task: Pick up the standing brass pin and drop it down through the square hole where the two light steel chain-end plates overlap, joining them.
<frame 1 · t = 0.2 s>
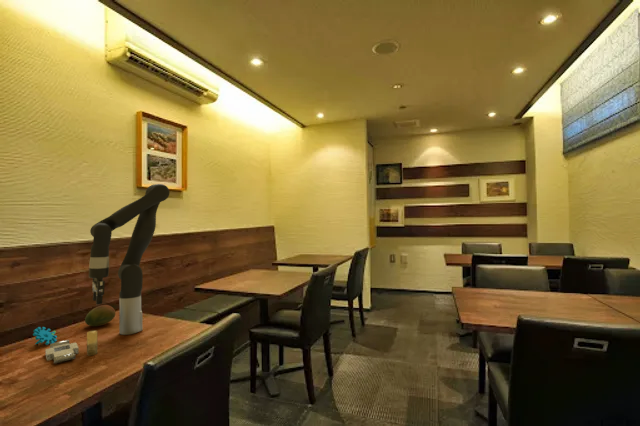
hand: (97, 302, 147), 17 cm above the table, tool pointing down, fingers open, 8 cm apart
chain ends: (62, 354, 132), on the table
fruit: (100, 325, 167), on the table
pin: (92, 353, 132), on the table
gear: (46, 344, 143), on the table
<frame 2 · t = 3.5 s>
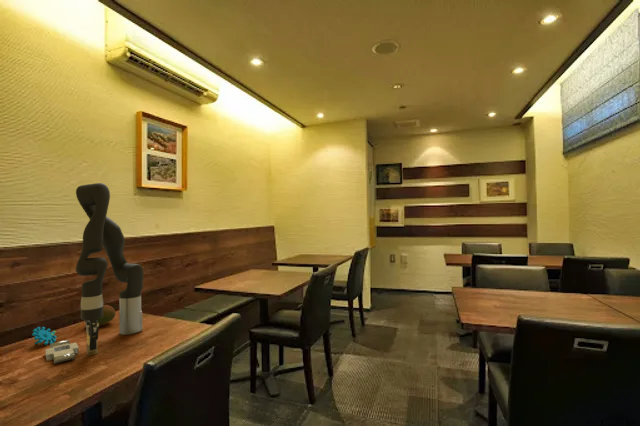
hand: (92, 348, 132), 2 cm above the table, tool pointing down, fingers closed on pin, 3 cm apart
pin: (92, 353, 132), on the table, touching gripper
everything else where it was.
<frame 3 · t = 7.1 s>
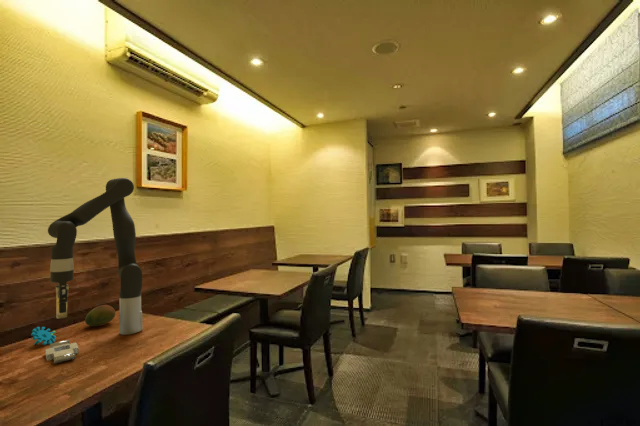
hand: (62, 311, 132), 18 cm above the table, tool pointing down, fingers closed on pin, 3 cm apart
pin: (61, 317, 132), point 15 cm above the table, touching gripper
everything else where it was.
when the fingers open (5 cm above the table, at t = 10.5 s): pin drops 3 cm, resting in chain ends.
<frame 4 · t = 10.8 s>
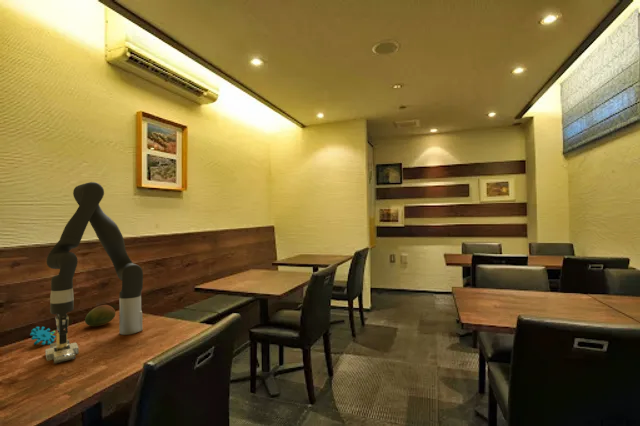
hand: (62, 341, 132), 5 cm above the table, tool pointing down, fingers open, 6 cm apart
pin: (61, 354, 132), resting in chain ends
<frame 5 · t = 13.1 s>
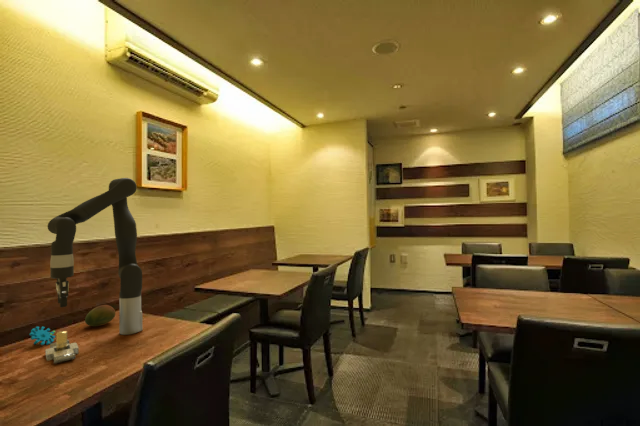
hand: (62, 304, 132), 20 cm above the table, tool pointing down, fingers open, 8 cm apart
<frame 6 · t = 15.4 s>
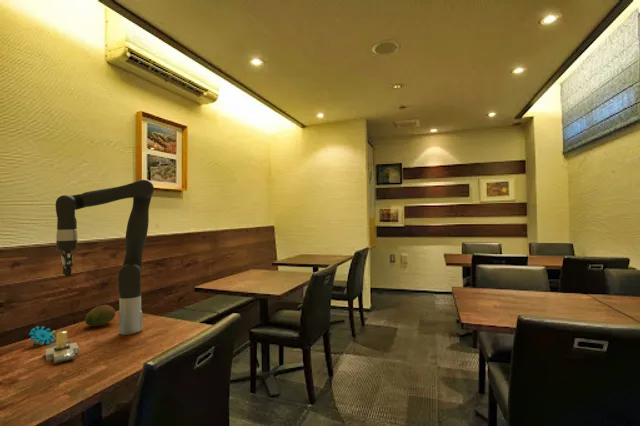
hand: (67, 275, 145), 30 cm above the table, tool pointing down, fingers open, 8 cm apart
at the end: pin 0.1 cm off-centre on the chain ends, point 0.0 cm above the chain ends's base; pin tilted 0°; the gripper is holding nothing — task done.
